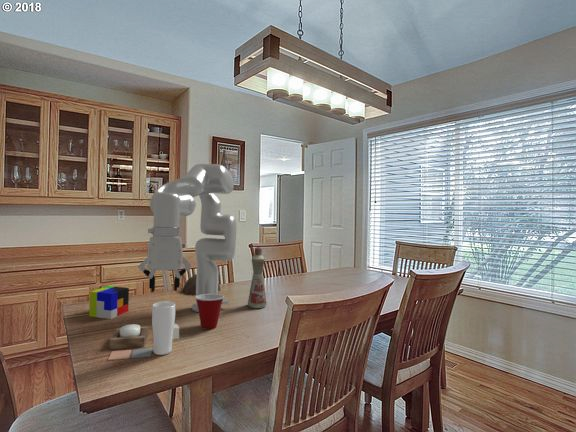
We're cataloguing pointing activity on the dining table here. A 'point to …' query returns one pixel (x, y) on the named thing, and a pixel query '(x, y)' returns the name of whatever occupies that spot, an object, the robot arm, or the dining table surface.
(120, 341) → the button frame
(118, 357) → the pad
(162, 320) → the drinking glass
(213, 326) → the plastic cup
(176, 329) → the white cube
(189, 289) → the decorative dome
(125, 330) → the dome button
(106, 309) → the puzzle toy
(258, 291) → the bottle
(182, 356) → the dining table surface
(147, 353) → the pad mid
